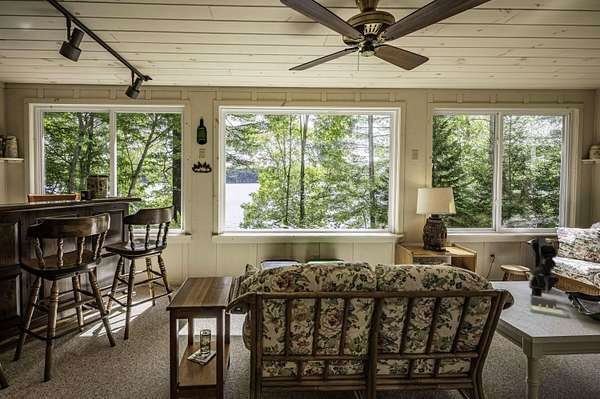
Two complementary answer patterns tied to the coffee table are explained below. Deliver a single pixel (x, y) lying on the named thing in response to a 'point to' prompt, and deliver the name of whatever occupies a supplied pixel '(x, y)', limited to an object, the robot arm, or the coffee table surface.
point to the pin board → (547, 310)
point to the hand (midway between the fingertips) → (544, 288)
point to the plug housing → (543, 301)
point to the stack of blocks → (542, 290)
